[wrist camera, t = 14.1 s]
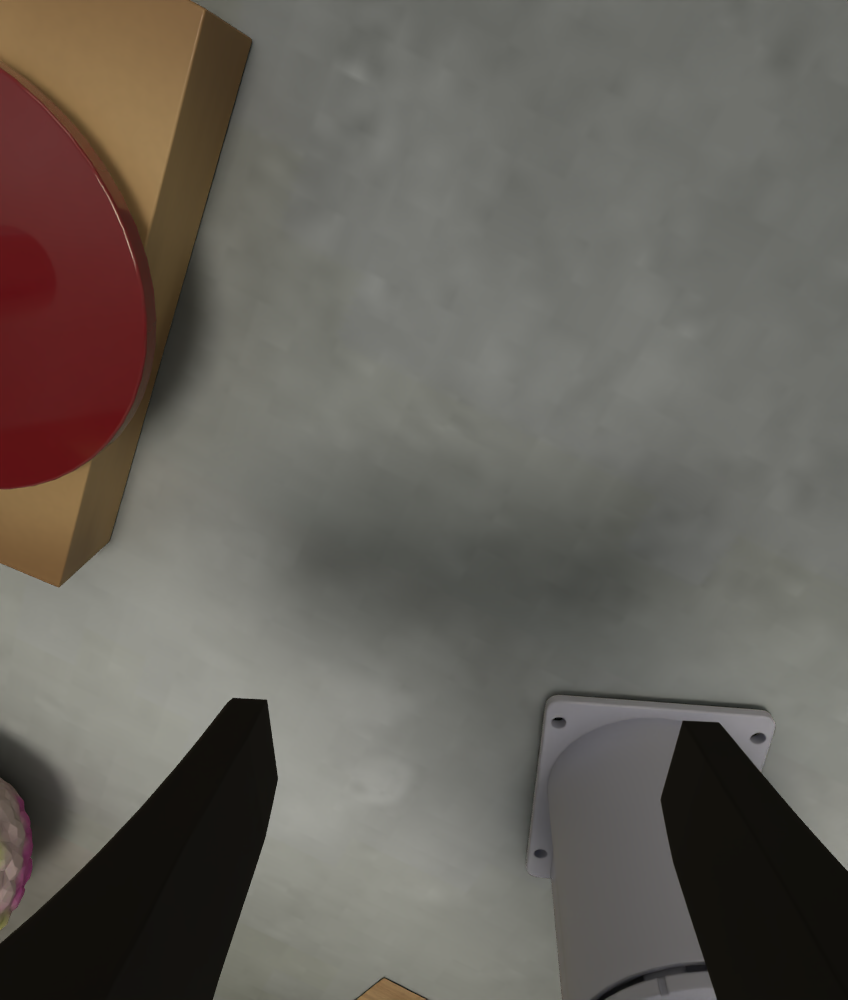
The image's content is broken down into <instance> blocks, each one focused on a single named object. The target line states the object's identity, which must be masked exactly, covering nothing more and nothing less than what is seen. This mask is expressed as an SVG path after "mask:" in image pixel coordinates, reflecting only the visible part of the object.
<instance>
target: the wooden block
mask: <svg viewBox="0 0 848 1000" xmlns="http://www.w3.org/2000/svg"><path fill="white" fill-rule="evenodd" d="M251 42H252V39H251V38H249V37H248V36H246V35H245V34H243V33H242V32H240V31H239V30H237V29H236V28H234V27H233V26H231V25H230V24H228V23H227V22H225V21H224V20H222V19H220V18H219V17H217V16H216V15H214V14H213V13H211V12H210V11H208V10H207V9H205V8H203V7H202V6H200V5H198V4H196V3H194V2H192V1H190V0H0V61H2V62H3V63H4V64H6V65H7V66H9V67H10V68H11V69H13V70H14V71H16V72H17V73H18V74H20V75H21V76H23V77H24V78H25V79H27V80H28V81H29V82H31V83H32V84H33V85H34V86H35V87H36V88H37V89H38V90H39V91H41V92H42V93H43V94H44V95H45V96H46V97H47V98H48V99H50V100H51V101H52V102H53V103H54V104H55V105H56V106H57V107H58V108H59V109H60V110H61V111H62V112H63V113H64V115H65V116H66V117H67V118H68V119H69V120H70V121H71V122H72V123H73V124H74V126H75V127H76V128H77V129H78V130H79V131H80V132H81V133H82V134H83V136H84V137H85V139H86V140H87V141H88V143H89V144H90V145H91V147H92V148H93V149H94V151H95V152H96V154H97V155H98V156H99V158H100V159H101V160H102V162H103V163H104V165H105V166H106V168H107V170H108V171H109V173H110V175H111V176H112V178H113V180H114V182H115V183H116V185H117V187H118V188H119V190H120V192H121V194H122V195H123V197H124V200H125V202H126V204H127V206H128V208H129V211H130V213H131V215H132V217H133V219H134V222H135V224H136V226H137V229H138V232H139V235H140V238H141V241H142V244H143V247H144V250H145V253H146V256H147V259H148V264H149V268H150V273H151V278H152V283H153V287H154V296H155V307H156V318H157V321H156V347H155V353H154V359H153V364H152V370H151V375H150V378H149V381H148V384H147V387H146V390H145V393H144V396H143V398H142V400H141V402H140V404H139V406H138V408H137V410H136V412H135V414H134V416H133V418H132V419H131V421H130V422H129V423H128V425H127V426H126V428H125V429H124V430H123V432H122V433H121V434H120V436H119V437H118V438H117V439H116V440H115V441H114V442H113V443H112V444H111V445H110V446H109V447H108V448H106V449H105V450H104V451H103V452H102V453H101V454H99V455H98V456H96V457H95V458H93V459H92V460H90V461H89V462H87V463H86V464H85V465H83V466H82V467H80V468H79V469H77V470H75V471H73V472H71V473H69V474H67V475H65V476H63V477H61V478H59V479H56V480H53V481H50V482H47V483H43V484H40V485H36V486H31V487H24V488H17V489H0V563H2V564H4V565H6V566H9V567H11V568H13V569H16V570H18V571H21V572H23V573H25V574H28V575H30V576H32V577H35V578H37V579H40V580H42V581H44V582H47V583H49V584H51V585H54V586H56V587H60V586H61V585H62V584H63V583H65V582H66V581H67V580H68V579H69V578H70V577H71V576H72V575H73V574H74V573H75V572H77V571H78V570H79V569H80V568H81V567H82V566H83V565H84V564H85V563H86V562H88V561H89V560H90V559H91V558H92V557H93V556H94V555H95V554H96V553H97V552H98V551H100V550H101V549H102V548H103V547H104V546H105V545H106V544H107V543H108V542H109V541H110V537H111V534H112V530H113V527H114V523H115V520H116V516H117V513H118V509H119V506H120V502H121V499H122V495H123V492H124V488H125V485H126V481H127V478H128V474H129V471H130V467H131V464H132V460H133V457H134V453H135V450H136V446H137V443H138V439H139V436H140V432H141V429H142V425H143V422H144V418H145V414H146V411H147V407H148V404H149V400H150V397H151V393H152V390H153V386H154V383H155V379H156V376H157V372H158V369H159V365H160V362H161V358H162V355H163V351H164V348H165V344H166V341H167V337H168V334H169V330H170V327H171V323H172V320H173V316H174V313H175V309H176V306H177V302H178V299H179V295H180V292H181V288H182V285H183V281H184V278H185V274H186V271H187V267H188V264H189V260H190V257H191V253H192V250H193V246H194V242H195V239H196V235H197V232H198V228H199V225H200V221H201V218H202V214H203V211H204V207H205V204H206V200H207V197H208V193H209V190H210V186H211V183H212V179H213V176H214V172H215V169H216V165H217V162H218V158H219V155H220V151H221V148H222V144H223V141H224V137H225V134H226V130H227V127H228V123H229V120H230V116H231V113H232V109H233V106H234V102H235V99H236V95H237V92H238V88H239V85H240V81H241V77H242V74H243V70H244V67H245V63H246V60H247V56H248V53H249V49H250V46H251Z"/></svg>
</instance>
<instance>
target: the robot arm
mask: <svg viewBox="0 0 848 1000" xmlns="http://www.w3.org/2000/svg"><path fill="white" fill-rule="evenodd" d="M557 717H560V718H563V719H562V720H558V721H556V720H553V719H554V718H557ZM775 728H776V723H775V721H774V719H773V718H772V716H771V714H770V713H768V712H767V711H764V710H756V709H743V708H730V707H716V706H703V705H690V704H677V703H663V702H650V701H637V700H623V699H610V698H597V697H583V696H570V695H554V696H552V697H550V698H549V699H548V700H547V701H546V704H545V711H544V719H543V727H542V735H541V743H540V751H539V759H538V767H537V775H536V783H535V791H534V799H533V807H532V815H531V823H530V831H529V839H528V847H527V855H526V870H527V872H528V873H529V874H530V875H532V876H534V877H540V878H551V883H552V894H553V905H554V916H555V928H556V939H557V950H558V961H559V972H560V983H561V994H562V1000H848V871H847V870H846V869H845V868H844V867H843V866H842V865H841V863H840V862H839V861H838V860H837V859H836V858H835V857H834V856H833V855H832V854H831V853H830V852H829V850H828V849H827V848H826V847H825V846H824V845H823V844H822V843H821V841H820V840H819V839H818V838H817V837H816V836H815V835H814V834H813V832H812V831H811V830H810V829H809V828H808V827H807V826H806V825H805V823H804V822H803V821H802V820H801V819H800V818H799V817H798V816H797V814H796V813H795V812H794V811H793V810H792V809H791V807H790V806H789V805H788V804H787V803H786V802H785V800H784V799H783V798H782V797H781V796H780V795H779V793H778V792H777V791H776V790H775V789H774V787H773V786H772V785H771V784H770V783H769V782H768V780H767V779H766V778H765V777H764V776H763V774H762V773H761V772H762V768H763V765H764V762H765V759H766V756H767V753H768V750H769V747H770V744H771V741H772V737H773V734H774V731H775ZM755 733H760V734H758V735H756V736H752V735H753V734H755ZM277 781H278V776H277V768H276V761H275V754H274V747H273V739H272V732H271V725H270V718H269V710H268V703H267V700H261V699H241V698H233V699H231V700H230V701H229V702H228V703H227V704H226V705H225V706H224V708H223V709H222V710H221V712H220V713H219V714H218V715H217V717H216V718H215V719H214V721H213V722H212V723H211V724H210V726H209V727H208V728H207V730H206V731H205V732H204V733H203V735H202V736H201V737H200V738H199V740H198V741H197V742H196V743H195V745H194V746H193V747H192V748H191V749H190V751H189V752H188V753H187V754H186V756H185V757H184V758H183V759H182V760H181V762H180V763H179V764H178V765H177V766H176V768H175V769H174V770H173V771H172V772H171V773H170V775H169V776H168V777H167V778H166V779H165V780H164V781H163V783H162V784H161V785H160V786H159V787H158V788H157V790H156V791H155V792H154V793H153V794H152V795H151V797H150V798H149V799H148V800H147V801H146V802H145V803H144V804H143V806H142V807H141V808H140V809H139V810H138V811H137V812H136V813H135V814H134V815H133V816H132V817H131V819H130V820H129V821H128V822H127V823H126V824H125V825H124V826H123V827H122V828H121V829H120V830H119V831H118V832H117V833H116V834H115V836H114V837H113V838H112V839H111V840H110V841H109V842H108V843H107V844H106V845H105V846H104V847H103V848H102V849H101V850H100V851H99V852H98V853H97V854H96V855H95V856H94V857H93V858H92V859H91V860H90V861H89V862H88V863H87V864H86V865H85V866H84V867H83V868H82V869H81V870H80V871H79V872H78V873H77V874H76V875H75V876H74V877H73V878H72V879H71V880H70V881H69V882H68V883H67V884H66V885H65V886H64V887H63V888H62V889H61V890H60V891H58V892H57V893H56V894H55V895H54V896H53V897H52V898H51V899H50V900H49V901H48V902H47V903H46V904H45V905H44V906H42V907H41V908H40V909H39V910H38V911H37V912H36V913H35V914H34V915H32V916H31V917H30V918H29V919H28V920H27V921H26V922H24V923H23V924H22V925H21V926H20V927H19V928H18V929H16V930H15V931H14V932H13V933H12V934H11V935H10V936H8V937H7V938H6V939H5V940H4V941H3V942H2V943H0V1000H213V997H214V994H215V990H216V987H217V983H218V980H219V977H220V974H221V971H222V968H223V965H224V962H225V959H226V956H227V953H228V950H229V947H230V944H231V941H232V938H233V935H234V932H235V928H236V925H237V922H238V919H239V916H240V913H241V910H242V907H243V904H244V901H245V898H246V895H247V892H248V889H249V886H250V883H251V880H252V877H253V874H254V871H255V868H256V865H257V862H258V859H259V856H260V853H261V850H262V846H263V843H264V840H265V837H266V832H267V828H268V823H269V819H270V814H271V810H272V805H273V800H274V795H275V790H276V786H277Z"/></svg>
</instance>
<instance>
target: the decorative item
mask: <svg viewBox="0 0 848 1000" xmlns="http://www.w3.org/2000/svg"><path fill="white" fill-rule="evenodd" d="M30 824H31V822H30V819H29V816H28V815H27V813H26V812H25V810H24V801H23V799H22V798H21V797H20V796H19V795H18V793H17V791H16V790H15V789H14V788H13V787H12V785H11V784H9V783H8V782H5V781H4V780H2V779H1V778H0V930H1V929H2V928H3V927H4V926H6V925H7V923H8V920H9V917H10V915H11V912H12V911H13V910H14V909H16V908H17V907H18V905H19V903H20V901H21V899H22V897H23V895H24V891H25V889H24V886H25V884H26V882H27V881H28V879H29V878H30V875H31V871H32V859H31V858H30V857H31V855H32V850H33V843H32V830H31V828H30Z"/></svg>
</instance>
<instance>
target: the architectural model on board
mask: <svg viewBox="0 0 848 1000" xmlns="http://www.w3.org/2000/svg"><path fill="white" fill-rule="evenodd" d="M357 1000H426V999H424V998H422V997H420V996H418V995H416V994H414V993H412V992H410V991H408V990H406V989H404V988H402V987H401V986H399V985H397V984H395V983H393V982H391V981H389V980H387V979H385V978H383V979H382V980H381V981H379V982H378V983H377V984H376V985H374V986H373V987H372V988H370V989H369V990H368V991H367V992H365V993H364V994H363V995H362V996H360V997H359V998H358V999H357Z"/></svg>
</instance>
